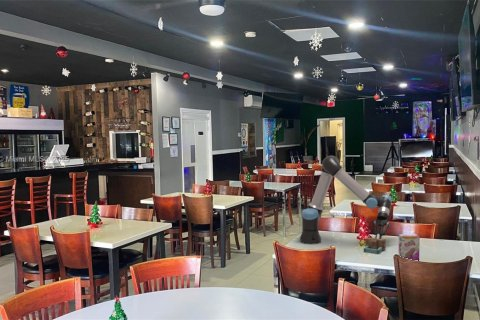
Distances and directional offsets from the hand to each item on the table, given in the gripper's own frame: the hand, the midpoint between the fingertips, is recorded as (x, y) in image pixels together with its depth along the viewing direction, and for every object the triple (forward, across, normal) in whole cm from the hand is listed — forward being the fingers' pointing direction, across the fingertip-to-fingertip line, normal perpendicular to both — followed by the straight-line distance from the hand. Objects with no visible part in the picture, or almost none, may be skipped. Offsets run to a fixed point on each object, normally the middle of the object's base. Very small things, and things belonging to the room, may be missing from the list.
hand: (377, 243), depth 285 cm
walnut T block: (+7, 0, +2) cm, 7 cm away
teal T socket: (+9, 0, +4) cm, 10 cm away
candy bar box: (+18, -25, +13) cm, 33 cm away
